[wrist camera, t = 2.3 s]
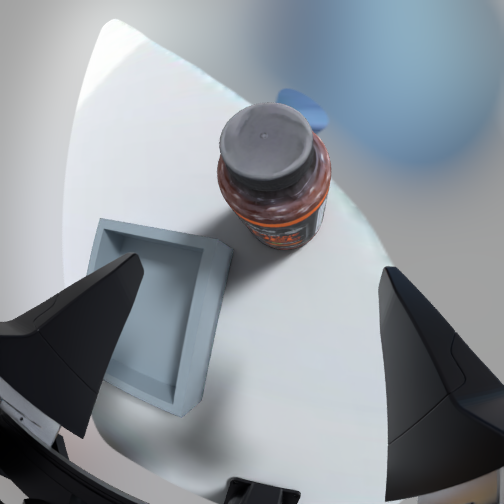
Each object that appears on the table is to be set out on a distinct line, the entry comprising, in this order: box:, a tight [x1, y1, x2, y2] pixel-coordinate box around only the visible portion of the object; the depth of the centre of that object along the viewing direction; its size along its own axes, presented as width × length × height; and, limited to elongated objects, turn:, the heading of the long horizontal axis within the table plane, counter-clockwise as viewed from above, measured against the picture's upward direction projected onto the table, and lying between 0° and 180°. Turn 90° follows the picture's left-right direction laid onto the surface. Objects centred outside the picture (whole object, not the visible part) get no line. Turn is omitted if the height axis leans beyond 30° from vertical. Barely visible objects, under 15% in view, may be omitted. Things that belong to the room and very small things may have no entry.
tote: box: [86, 218, 234, 418], centre depth 20 cm, size 13×11×4 cm
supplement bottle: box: [217, 102, 331, 250], centre depth 16 cm, size 6×6×11 cm
